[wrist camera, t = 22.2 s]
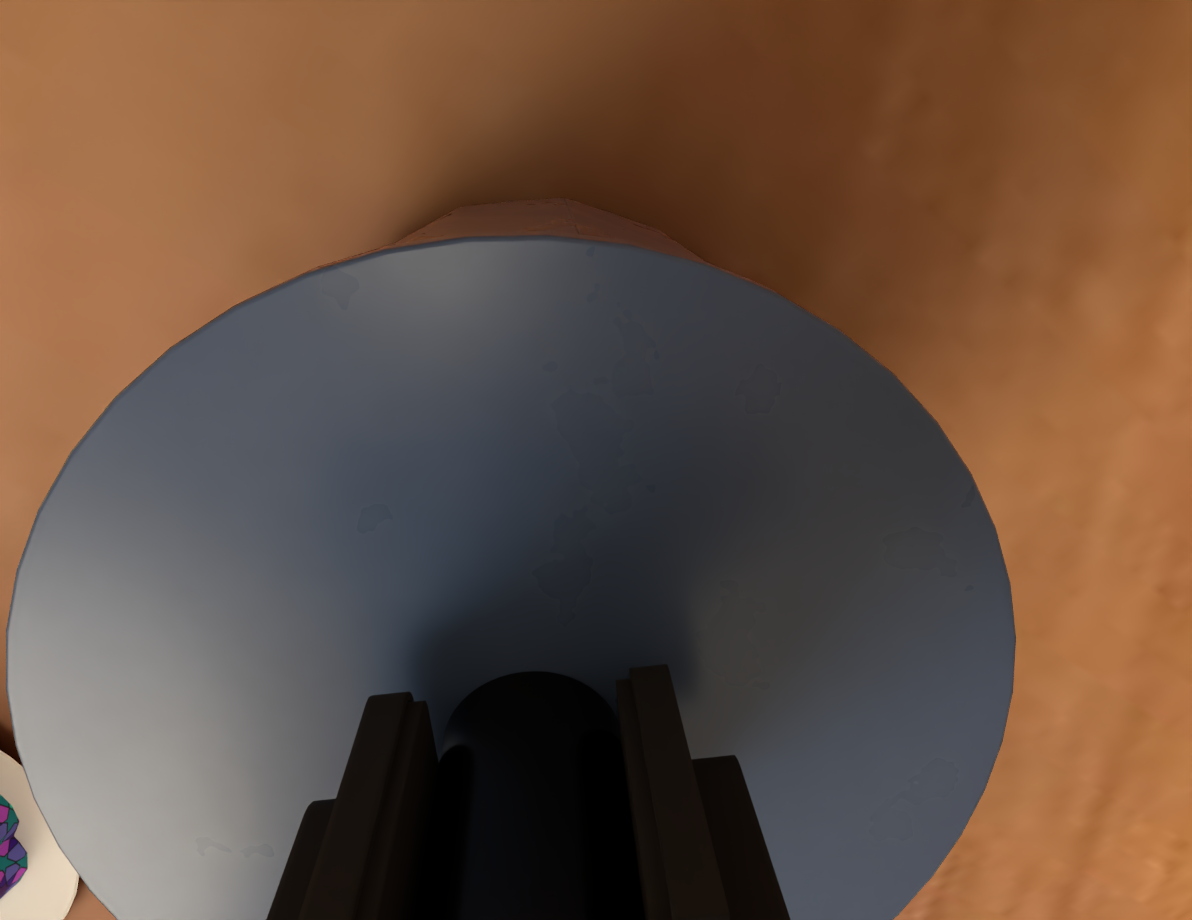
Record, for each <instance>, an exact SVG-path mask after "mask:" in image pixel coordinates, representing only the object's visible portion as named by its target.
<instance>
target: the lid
mask: <svg viewBox="0 0 1192 920" xmlns="http://www.w3.org/2000/svg"><path fill="white" fill-rule="evenodd" d="M1015 645H1016V635H1015V625H1014V615H1013V605H1012V595H1011V585H1010V580H1009V577H1008V573H1007V569H1006V565H1005V562H1004V558H1003V554H1002V550H1001V547H1000V543H999V539H998V535H997V532H996V528H995V525H994V523H993V521H992V519H991V516H990V514H989V512H988V510H987V508H986V505H985V503H984V501H983V499H982V496H981V494H980V492H979V490H978V487H977V485H976V483H975V481H974V479H973V476H972V474H971V472H970V471H969V469H968V468H967V466H966V465H965V463H964V462H963V460H962V459H961V457H960V456H959V454H958V453H957V451H956V450H955V448H954V446H953V445H952V443H951V442H950V440H949V439H948V437H947V436H946V434H945V433H944V431H943V430H942V428H941V427H940V425H939V424H938V422H937V421H936V420H935V419H934V418H933V416H932V415H931V414H930V413H929V412H928V411H927V410H926V409H925V408H924V407H923V405H922V404H921V403H920V402H919V401H918V400H917V399H916V398H915V397H914V396H913V394H912V393H911V392H910V391H909V390H908V389H907V388H906V387H905V386H904V385H903V383H902V382H901V381H900V380H899V379H898V378H897V377H896V376H895V375H894V374H893V373H892V372H891V371H890V370H889V369H887V368H886V367H885V366H884V365H882V364H881V363H880V362H879V361H878V360H876V359H875V358H874V357H873V356H871V355H870V354H869V353H868V352H866V351H865V350H864V349H863V348H861V347H860V346H859V345H858V344H857V343H855V342H854V341H853V340H852V339H850V338H849V337H848V336H847V335H845V334H844V333H843V332H842V331H840V330H839V329H838V328H836V327H834V326H832V325H831V324H829V323H827V322H826V321H824V320H822V319H821V318H819V317H817V316H816V315H814V314H812V313H810V312H809V311H807V310H805V309H804V308H802V307H800V306H799V305H797V304H795V303H793V302H792V301H790V300H788V299H787V298H785V297H783V296H782V295H780V294H778V293H777V292H775V291H773V290H771V289H770V288H768V287H766V286H764V285H761V284H759V283H757V282H754V281H752V280H749V279H747V278H744V277H742V276H740V275H737V274H735V273H732V272H730V271H727V270H725V269H723V268H720V267H718V266H715V265H713V264H710V263H708V262H706V261H703V260H701V259H698V258H694V257H690V256H686V255H683V254H679V253H675V252H671V251H667V250H663V249H659V248H655V247H651V246H648V245H644V244H640V243H636V242H632V241H628V240H623V239H614V238H606V237H597V236H589V235H580V234H571V233H563V232H554V231H512V232H468V233H462V234H455V235H449V236H443V237H436V238H430V239H423V240H417V241H411V242H404V243H398V244H391V245H388V246H385V247H381V248H378V249H375V250H372V251H368V252H365V253H362V254H358V255H355V256H352V257H348V258H345V259H342V260H338V261H335V262H332V263H328V264H325V265H322V266H318V267H316V268H314V269H311V270H309V271H307V272H305V273H303V274H301V275H298V276H296V277H294V278H292V279H290V280H288V281H285V282H283V283H281V284H279V285H277V286H275V287H272V288H270V289H268V290H266V291H264V292H262V293H260V294H257V295H255V296H253V297H251V298H249V299H247V300H245V301H243V302H241V303H239V304H237V305H235V306H233V307H231V308H230V309H228V310H227V311H225V312H224V313H222V314H221V315H219V316H218V317H216V318H215V319H213V320H212V321H210V322H209V323H207V324H206V325H204V326H202V327H201V328H199V329H198V330H196V331H195V332H193V333H192V334H190V335H189V336H187V337H186V338H184V339H183V340H181V341H180V342H178V343H176V344H175V345H173V346H172V347H170V348H169V349H168V350H167V351H166V352H165V353H164V354H163V355H161V356H160V357H159V358H158V359H157V360H156V361H155V362H154V363H152V364H151V365H150V366H149V367H148V368H147V369H146V370H145V371H144V372H142V373H141V374H140V375H139V376H138V377H137V378H136V379H135V380H134V381H132V382H131V383H130V384H129V385H128V386H127V387H126V388H125V389H124V390H122V391H121V392H120V393H119V394H118V395H117V396H116V397H115V398H114V399H113V400H112V402H111V403H110V404H109V405H108V407H107V408H106V409H105V410H104V412H103V413H102V414H101V415H100V416H99V418H98V419H97V420H96V421H95V423H94V424H93V425H92V426H91V428H90V429H89V430H88V431H87V433H86V434H85V435H84V436H83V437H82V439H81V440H80V441H79V442H78V444H77V445H76V446H75V447H74V449H73V450H72V451H71V453H70V455H69V456H68V458H67V460H66V462H65V463H64V465H63V467H62V469H61V470H60V472H59V474H58V476H57V478H56V479H55V481H54V483H53V485H52V486H51V488H50V490H49V492H48V493H47V495H46V497H45V499H44V500H43V502H42V504H41V506H40V508H39V510H38V512H37V515H36V518H35V521H34V523H33V526H32V529H31V532H30V535H29V537H28V540H27V543H26V546H25V548H24V551H23V554H22V557H21V560H20V562H19V565H18V568H17V572H16V577H15V583H14V589H13V595H12V600H11V606H10V612H9V617H8V623H7V629H6V691H7V697H8V703H9V709H10V715H11V721H12V727H13V733H14V739H15V745H16V748H17V751H18V754H19V757H20V760H21V763H22V766H23V769H24V772H25V775H26V778H27V781H28V784H29V786H30V789H31V792H32V795H33V798H34V800H35V802H36V804H37V806H38V808H39V810H40V812H41V814H42V816H43V817H44V819H45V821H46V823H47V825H48V827H49V829H50V831H51V833H52V835H53V837H54V839H55V841H56V843H57V844H58V846H59V848H60V849H61V851H62V852H63V853H64V855H65V856H66V858H67V859H68V860H69V862H70V863H71V865H72V866H73V867H74V869H75V870H76V872H77V873H78V874H79V876H80V877H81V879H82V880H83V881H84V883H85V884H86V886H87V887H88V888H89V890H90V891H91V892H92V893H93V894H94V896H95V897H96V898H97V899H98V900H99V901H100V902H101V903H102V904H103V905H104V906H105V907H106V908H107V909H108V911H109V912H110V913H111V914H112V915H113V916H114V917H115V918H116V919H117V920H266V919H267V916H268V914H269V911H270V908H271V905H272V902H273V900H274V897H275V894H276V891H277V888H278V886H279V883H280V880H281V877H282V874H283V871H284V869H285V866H286V863H287V860H288V857H289V855H290V852H291V849H292V846H293V843H294V841H295V838H296V835H297V832H298V829H299V827H300V824H301V821H302V818H303V815H304V813H305V811H306V809H307V807H308V806H309V805H310V804H311V803H312V802H313V801H319V800H328V799H336V797H337V794H338V790H339V787H340V784H341V781H342V778H343V775H344V771H345V768H346V765H347V762H348V759H349V756H350V752H351V749H352V746H353V743H354V740H355V737H356V733H357V730H358V727H359V724H360V721H361V717H362V714H363V711H364V708H365V705H366V702H367V700H368V697H370V696H371V695H380V694H390V693H399V692H411V694H412V696H413V699H414V702H415V701H424V700H425V701H426V702H427V705H428V709H429V714H430V719H431V725H432V730H433V735H434V741H435V746H436V751H437V757H438V762H439V767H438V773H437V779H436V785H435V791H434V797H433V803H432V809H431V815H430V821H429V827H428V834H427V840H426V846H425V852H424V858H423V864H422V870H421V876H420V882H419V888H418V894H417V900H416V907H415V913H414V919H413V920H645V917H644V910H643V902H642V895H641V888H640V880H639V873H638V866H637V858H636V851H635V844H634V836H633V829H632V822H631V814H630V807H629V800H628V792H627V785H626V778H625V770H624V763H623V756H622V748H621V741H620V729H619V717H618V705H617V693H616V680H621V679H630V676H629V668H635V667H644V666H654V665H663V664H667V665H668V668H669V671H670V675H671V679H672V683H673V687H674V691H675V695H676V699H677V703H678V708H679V712H680V716H681V720H682V724H683V728H684V732H685V736H686V740H687V744H688V748H689V752H690V756H691V759H700V758H709V757H719V756H728V755H735V756H736V757H737V759H738V761H739V764H740V766H741V769H742V772H743V775H744V778H745V781H746V785H747V788H748V791H749V794H750V797H751V800H752V803H753V806H754V809H755V812H756V815H757V818H758V821H759V824H760V827H761V831H762V834H763V837H764V840H765V843H766V846H767V849H768V852H769V855H770V858H771V861H772V864H773V867H774V870H775V873H776V877H777V880H778V883H779V886H780V889H781V892H782V895H783V898H784V901H785V904H786V907H787V910H788V913H789V916H790V919H791V920H893V919H894V918H895V917H896V916H897V915H899V913H900V912H901V911H902V910H903V909H904V908H905V907H906V906H907V904H908V903H909V902H910V901H911V900H912V899H913V898H914V897H915V895H916V894H917V893H918V892H919V891H920V890H921V889H922V888H923V886H924V885H925V884H926V883H927V882H928V881H929V880H930V879H931V877H932V876H933V875H934V873H935V872H936V871H937V869H938V868H939V866H940V865H941V863H942V862H943V860H944V859H945V858H946V856H947V855H948V853H949V852H950V850H951V849H952V848H953V846H954V845H955V843H956V842H957V840H958V839H959V838H960V836H961V835H962V833H963V831H964V829H965V827H966V825H967V823H968V821H969V819H970V817H971V815H972V814H973V812H974V810H975V808H976V806H977V804H978V802H979V800H980V798H981V796H982V795H983V793H984V791H985V788H986V785H987V783H988V780H989V777H990V774H991V772H992V769H993V766H994V763H995V761H996V758H997V755H998V752H999V750H1000V747H1001V744H1002V741H1003V736H1004V731H1005V727H1006V722H1007V717H1008V712H1009V708H1010V703H1011V698H1012V693H1013V681H1014V663H1015Z"/></svg>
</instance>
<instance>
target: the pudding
mask: <svg viewBox="0 0 1192 920" xmlns="http://www.w3.org/2000/svg"><path fill="white" fill-rule="evenodd" d="M78 880H79V874H78V873H77V872H76V870H75V869H74V867H73V866H72V865H71V863H70V862H69V860H68V859H67V858H66V856H65V855H64V853H63V852H62V851H61V849H60V848H59V846H58V844H57V843H56V841H55V839H54V837H53V835H52V833H51V831H50V829H49V827H48V825H47V823H46V821H45V819H44V817H43V816H42V814H41V812H40V810H39V808H38V806H37V804H36V802H35V800H34V798H33V795H32V792H31V789H30V786H29V784H28V781H27V778H26V775H25V772H24V769H23V767H22V766H21V765H20V764H18V763H17V762H16V761H15V760H14V759H13V758H11V757H10V756H8V755H7V754H5V753H4V752H2V751H1V750H0V920H63V919H64V918H65V916H66V915H67V914H68V912H69V909H70V907H71V905H72V902H73V900H74V898H75V896H76V893H77V887H78Z"/></svg>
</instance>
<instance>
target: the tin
mask: <svg viewBox="0 0 1192 920" xmlns="http://www.w3.org/2000/svg"><path fill="white" fill-rule="evenodd" d="M512 231H554V232H563V233H571V234H580V235H589V236H597V237H606V238H614V239H623V240H628V241H632V242H636V243H640V244H644V245H648V246H651V247H655V248H659V249H663V250H667V251H671V252H675V253H679V254H683V255H686V256H690V257H694V258H698V259H701V258H699V257H698V256H696V255H695V254H693V253H692V252H691V251H689V250H688V249H686V248H685V247H683V246H682V245H681V244H679V243H678V242H676V241H675V240H673V239H672V238H670V237H669V236H668V235H666V234H665V233H663V232H661V231H660V230H659V229H656V228H653V227H650V226H647V225H644V224H641V223H638V222H635V221H632V220H629V219H626V218H623V217H621V216H618V215H616V214H614V213H611V212H607V211H604V210H600V209H597V208H594V207H591V206H588V205H585V204H582V203H579V202H576V201H573V200H570V199H567V198H552V199H541V200H528V201H508V202H502V203H494V204H482V205H471V206H462V207H459V208H457V209H455V210H453V211H452V212H450V213H448V214H446V215H444V216H442V217H441V218H439V219H437V220H435V221H433V222H432V223H430V224H428V225H426V226H424V227H422V228H420V229H418V230H417V231H415V232H413V233H412V234H410V235H408V236H406V237H404V238H402V239H401V240H399V241H397V242H395V243H393V244H398V243H404V242H411V241H417V240H423V239H430V238H436V237H443V236H449V235H455V234H462V233H468V232H512ZM701 260H702V259H701Z"/></svg>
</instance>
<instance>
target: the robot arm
mask: <svg viewBox="0 0 1192 920" xmlns="http://www.w3.org/2000/svg"><path fill="white" fill-rule="evenodd" d="M629 676H630V679H621V680H616V693H617V705H618V717H619V729H620V741H621V748H622V756H623V763H624V770H625V778H626V785H627V792H628V800H629V807H630V814H631V822H632V829H633V836H634V844H635V851H636V858H637V866H638V873H639V880H640V888H641V895H642V902H643V910H644V917H645V920H791V919H790V916H789V913H788V910H787V907H786V904H785V901H784V898H783V895H782V892H781V889H780V886H779V883H778V880H777V877H776V873H775V870H774V867H773V864H772V861H771V858H770V855H769V852H768V849H767V846H766V843H765V840H764V837H763V834H762V831H761V827H760V824H759V821H758V818H757V815H756V812H755V809H754V806H753V803H752V800H751V797H750V794H749V791H748V788H747V785H746V781H745V778H744V775H743V772H742V769H741V766H740V764H739V761H738V759H737V757H736V756H735V755H728V756H719V757H709V758H700V759H691V756H690V752H689V748H688V744H687V740H686V736H685V732H684V728H683V724H682V720H681V716H680V712H679V708H678V703H677V699H676V695H675V691H674V687H673V683H672V679H671V675H670V671H669V668H668V665H667V664H663V665H654V666H644V667H635V668H629ZM438 767H439V762H438V757H437V751H436V746H435V741H434V735H433V730H432V725H431V719H430V714H429V709H428V705H427V702H426V701H425V700H424V701H415V702H414V699H413V696H412V694H411V692H399V693H390V694H380V695H371V696H370V697H368V700H367V702H366V705H365V708H364V711H363V714H362V717H361V721H360V724H359V727H358V730H357V733H356V737H355V740H354V743H353V746H352V749H351V752H350V756H349V759H348V762H347V765H346V768H345V771H344V775H343V778H342V781H341V784H340V787H339V790H338V794H337V797H336V799H328V800H319V801H313V802H312V803H311V804H310V805H309V806H308V807H307V809H306V811H305V813H304V815H303V818H302V821H301V824H300V827H299V829H298V832H297V835H296V838H295V841H294V843H293V846H292V849H291V852H290V855H289V857H288V860H287V863H286V866H285V869H284V871H283V874H282V877H281V880H280V883H279V886H278V888H277V891H276V894H275V897H274V900H273V902H272V905H271V908H270V911H269V914H268V916H267V919H266V920H413V919H414V913H415V907H416V900H417V894H418V888H419V882H420V876H421V870H422V864H423V858H424V852H425V846H426V840H427V834H428V827H429V821H430V815H431V809H432V803H433V797H434V791H435V785H436V779H437V773H438Z"/></svg>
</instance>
